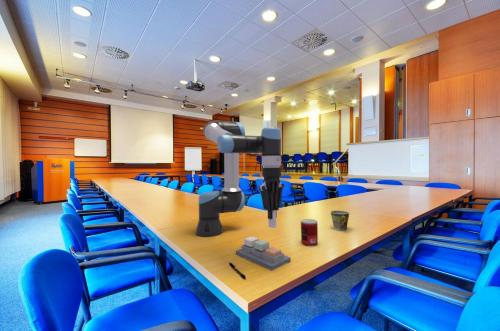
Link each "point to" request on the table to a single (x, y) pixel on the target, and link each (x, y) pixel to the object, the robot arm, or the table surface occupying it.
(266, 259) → the keypad
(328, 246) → the table surface
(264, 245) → the key green
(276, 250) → the key terracotta
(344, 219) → the ceramic cup
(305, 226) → the canned food
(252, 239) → the key ivory
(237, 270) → the pen
